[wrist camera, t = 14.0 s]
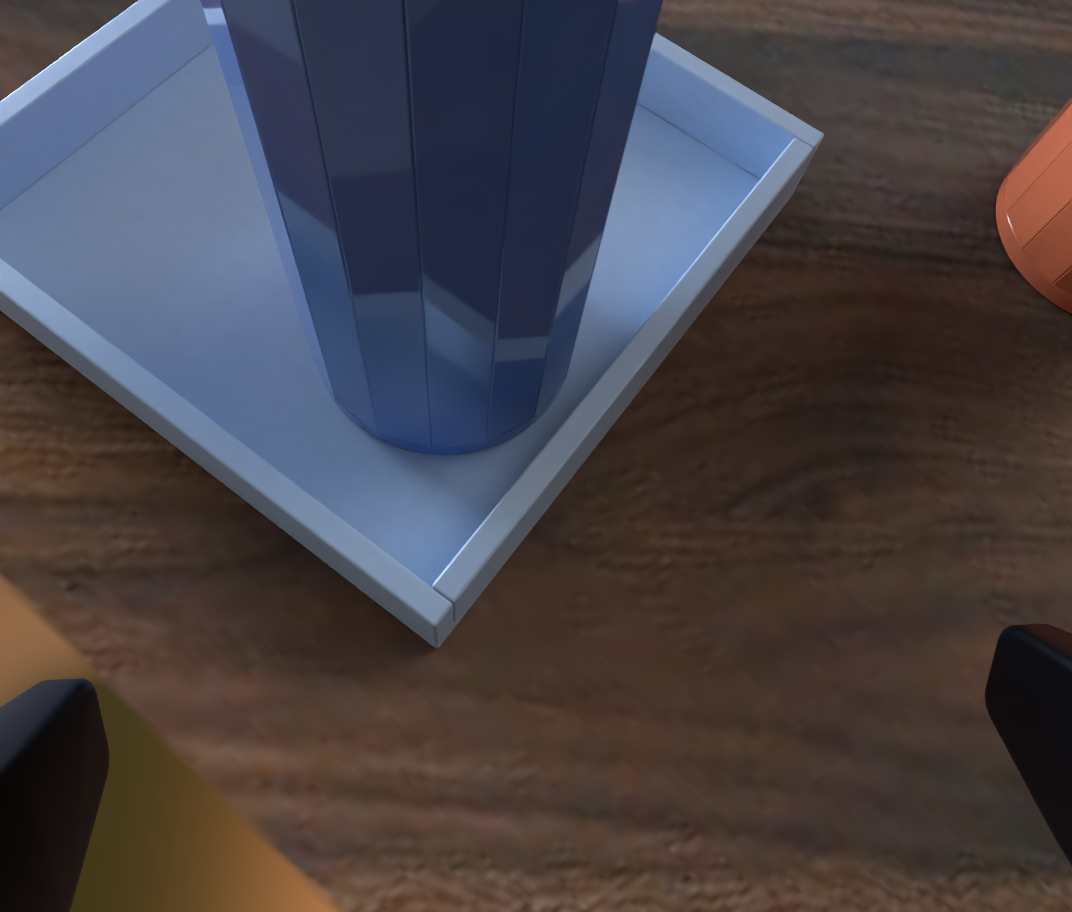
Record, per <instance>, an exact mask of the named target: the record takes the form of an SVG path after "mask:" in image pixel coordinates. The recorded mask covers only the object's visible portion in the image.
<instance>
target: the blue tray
mask: <svg viewBox="0 0 1072 912" xmlns="http://www.w3.org/2000/svg"><path fill="white" fill-rule="evenodd" d="M823 137H824V134H823V133H821V132H820V131H818V130H816V129H815V128H813V127H811V126H810V125H808V124H806V123H805V122H803V121H801V120H800V119H798V118H796V117H795V116H793V115H791V114H790V113H788V112H787V111H785V110H783V109H782V108H780V107H778V106H777V105H775V104H773V103H772V102H770V101H768V100H767V99H765V98H763V97H762V96H760V95H758V94H757V93H755V92H753V91H752V90H750V89H748V88H747V87H745V86H743V85H742V84H740V83H738V82H737V81H735V80H734V79H732V78H730V77H729V76H727V75H725V74H724V73H722V72H720V71H719V70H717V69H715V68H714V67H712V66H710V65H709V64H707V63H705V62H704V61H702V60H700V59H699V58H697V57H695V56H694V55H692V54H690V53H689V52H687V51H685V50H684V49H682V48H680V47H679V46H677V45H676V44H674V43H672V42H671V41H669V40H667V39H666V38H664V37H662V36H661V35H659V34H657V33H656V34H655V38H654V42H653V46H652V49H651V53H650V57H649V61H648V65H647V69H646V73H645V77H644V80H643V84H642V88H641V92H640V96H639V100H638V104H637V108H636V111H635V115H634V119H633V123H632V127H631V131H630V135H629V139H628V142H627V146H626V150H625V154H624V158H623V162H622V166H621V170H620V174H619V177H618V181H617V185H616V189H615V193H614V197H613V201H612V205H611V208H610V212H609V216H608V220H607V224H606V228H605V232H604V236H603V239H602V243H601V247H600V251H599V255H598V259H597V263H596V267H595V271H594V274H593V278H592V282H591V286H590V290H589V294H588V298H587V302H586V305H585V309H584V313H583V317H582V321H581V325H580V329H579V333H578V336H577V340H576V344H575V348H574V351H573V355H572V359H571V363H570V366H569V370H568V373H567V377H566V379H565V381H564V384H563V386H562V388H561V390H560V392H559V394H558V395H557V397H556V399H555V400H554V401H553V403H552V404H551V406H550V407H549V408H548V410H547V411H546V412H545V413H544V414H543V415H542V416H541V417H540V418H539V419H538V420H537V421H536V422H535V423H533V424H532V425H531V426H530V427H528V428H527V429H526V430H525V431H523V432H522V433H520V434H518V435H517V436H515V437H513V438H511V439H510V440H508V441H505V442H503V443H501V444H499V445H496V446H494V447H491V448H487V449H484V450H480V451H477V452H471V453H465V454H458V455H433V454H422V453H418V452H413V451H408V450H404V449H401V448H398V447H395V446H392V445H389V444H387V443H385V442H383V441H381V440H379V439H377V438H375V437H373V436H372V435H370V434H368V433H367V432H365V431H364V430H362V429H361V428H359V427H358V426H357V425H356V424H355V423H354V422H352V421H351V420H350V419H349V418H348V417H347V416H346V415H345V414H344V413H343V412H342V411H341V410H340V408H339V407H338V406H337V405H336V404H335V402H334V401H333V399H332V398H331V396H330V395H329V393H328V391H327V389H326V387H325V385H324V383H323V381H322V379H321V376H320V373H319V370H318V368H317V367H316V365H315V363H314V361H313V359H312V356H311V353H310V349H309V346H308V343H307V340H306V337H305V333H304V330H303V327H302V324H301V321H300V317H299V314H298V311H297V308H296V305H295V301H294V298H293V295H292V292H291V289H290V285H289V282H288V279H287V276H286V273H285V269H284V266H283V263H282V260H281V257H280V253H279V250H278V247H277V244H276V241H275V237H274V234H273V231H272V228H271V225H270V222H269V218H268V215H267V212H266V209H265V206H264V202H263V199H262V196H261V193H260V190H259V186H258V183H257V180H256V177H255V174H254V170H253V167H252V164H251V161H250V158H249V154H248V151H247V148H246V145H245V142H244V138H243V135H242V132H241V129H240V126H239V122H238V119H237V116H236V113H235V110H234V106H233V103H232V100H231V97H230V94H229V90H228V87H227V84H226V81H225V78H224V74H223V71H222V68H221V65H220V62H219V58H218V55H217V52H216V49H215V46H214V42H213V39H212V36H211V33H210V30H209V26H208V23H207V20H206V17H205V14H204V10H203V7H202V4H201V1H200V0H139V1H137V2H136V3H135V4H133V5H132V6H131V7H129V8H128V9H126V10H125V11H124V12H122V13H121V14H120V15H118V16H117V17H116V18H114V19H113V20H111V21H110V22H109V23H107V24H106V25H105V26H103V27H102V28H101V29H99V30H98V31H96V32H95V33H94V34H92V35H91V36H90V37H88V38H87V39H85V40H84V41H83V42H81V43H80V44H79V45H77V46H76V47H75V48H73V49H72V50H70V51H69V52H68V53H66V54H65V55H64V56H62V57H61V58H59V59H58V60H57V61H55V62H54V63H53V64H51V65H50V66H49V67H47V68H46V69H44V70H43V71H42V72H40V73H39V74H38V75H36V76H35V77H33V78H32V79H31V80H29V81H28V82H27V83H25V84H24V85H23V86H21V87H20V88H18V89H17V90H16V91H14V92H13V93H12V94H10V95H9V96H8V97H6V98H5V99H3V100H2V101H1V102H0V311H1V312H3V313H4V314H5V315H6V316H8V317H9V318H10V319H12V320H13V321H14V322H15V323H17V324H18V325H19V326H21V327H22V328H23V329H25V330H26V331H27V332H28V333H30V334H31V335H32V336H34V337H35V338H36V339H37V340H39V341H40V342H41V343H43V344H44V345H45V346H46V347H48V348H49V349H50V350H52V351H53V352H54V353H55V354H57V355H58V356H59V357H61V358H62V359H63V360H64V361H66V362H67V363H68V364H70V365H71V366H72V367H73V368H75V369H76V370H77V371H79V372H80V373H81V374H83V375H84V376H85V377H86V378H88V379H89V380H90V381H92V382H93V383H94V384H95V385H97V386H98V387H99V388H101V389H102V390H103V391H104V392H106V393H107V394H108V395H110V396H111V397H112V398H113V399H115V400H116V401H117V402H119V403H120V404H121V405H122V406H124V407H125V408H126V409H128V410H129V411H130V412H131V413H133V414H134V415H135V416H137V417H138V418H139V419H141V420H142V421H143V422H144V423H146V424H147V425H148V426H150V427H151V428H152V429H153V430H155V431H156V432H157V433H159V434H160V435H161V436H162V437H164V438H165V439H166V440H168V441H169V442H170V443H171V444H173V445H174V446H175V447H177V448H178V449H179V450H180V451H182V452H183V453H184V454H186V455H187V456H188V457H189V458H191V459H192V460H193V461H195V462H196V463H197V464H199V465H200V466H201V467H202V468H204V469H205V470H206V471H208V472H209V473H210V474H211V475H213V476H214V477H215V478H217V479H218V480H219V481H220V482H222V483H223V484H224V485H226V486H227V487H228V488H229V489H231V490H232V491H233V492H235V493H236V494H237V495H238V496H240V497H241V498H242V499H244V500H245V501H246V502H247V503H249V504H250V505H251V506H253V507H254V508H255V509H257V510H258V511H259V512H260V513H262V514H263V515H264V516H266V517H267V518H268V519H269V520H271V521H272V522H273V523H275V524H276V525H277V526H278V527H280V528H281V529H282V530H284V531H285V532H286V533H287V534H289V535H290V536H291V537H293V538H294V539H295V540H296V541H298V542H299V543H300V544H302V545H303V546H304V547H305V548H307V549H308V550H309V551H311V552H312V553H313V554H315V555H316V556H317V557H318V558H320V559H321V560H322V561H324V562H325V563H326V564H327V565H329V566H330V567H331V568H333V569H334V570H335V571H336V572H338V573H339V574H340V575H342V576H343V577H344V578H345V579H347V580H348V581H349V582H351V583H352V584H353V585H354V586H356V587H357V588H358V589H360V590H361V591H362V592H364V593H365V594H366V595H367V596H369V597H370V598H371V599H373V600H374V601H375V602H376V603H378V604H379V605H380V606H382V607H383V608H384V609H385V610H387V611H388V612H389V613H391V614H392V615H393V616H394V617H396V618H397V619H398V620H400V621H401V622H402V623H403V624H405V625H406V626H407V627H409V628H410V629H411V630H412V631H414V632H415V633H416V634H418V635H419V636H420V637H422V638H423V639H424V640H425V641H427V642H428V643H429V644H431V645H432V646H433V647H434V648H436V649H438V648H439V647H440V646H441V645H442V643H443V642H444V641H445V640H446V638H447V637H448V636H449V634H450V633H451V632H452V631H453V629H454V628H455V627H456V626H457V624H458V623H459V622H460V620H461V619H462V618H463V617H464V615H465V614H466V613H467V611H468V610H469V609H470V608H471V606H472V605H473V604H474V602H475V601H476V600H477V599H478V597H479V596H480V595H481V594H482V592H483V591H484V590H485V588H486V587H487V586H488V585H489V583H490V582H491V581H492V579H493V578H494V577H495V576H496V574H497V573H498V572H499V570H500V569H501V568H502V567H503V565H504V564H505V563H506V562H507V560H508V559H509V558H510V556H511V555H512V554H513V553H514V551H515V550H516V549H517V547H518V546H519V545H520V544H521V542H522V541H523V540H524V538H525V537H526V536H527V535H528V533H529V532H530V531H531V530H532V528H533V527H534V526H535V524H536V523H537V522H538V521H539V519H540V518H541V517H542V515H543V514H544V513H545V512H546V510H547V509H548V508H549V506H550V505H551V504H552V503H553V501H554V500H555V499H556V498H557V496H558V495H559V494H560V492H561V491H562V490H563V489H564V487H565V486H566V485H567V483H568V482H569V481H570V480H571V478H572V477H573V476H574V474H575V473H576V472H577V471H578V469H579V468H580V467H581V466H582V464H583V463H584V462H585V460H586V459H587V458H588V457H589V455H590V454H591V453H592V451H593V450H594V449H595V448H596V446H597V445H598V444H599V442H600V441H601V440H602V439H603V437H604V436H605V435H606V434H607V432H608V431H609V430H610V428H611V427H612V426H613V425H614V423H615V422H616V421H617V419H618V418H619V417H620V416H621V414H622V413H623V412H624V410H625V409H626V408H627V407H628V405H629V404H630V403H631V402H632V400H633V399H634V398H635V396H636V395H637V394H638V393H639V391H640V390H641V389H642V387H643V386H644V385H645V384H646V382H647V381H648V380H649V378H650V377H651V376H652V375H653V373H654V372H655V371H656V370H657V368H658V367H659V366H660V364H661V363H662V362H663V361H664V359H665V358H666V357H667V355H668V354H669V353H670V352H671V350H672V349H673V348H674V346H675V345H676V344H677V343H678V341H679V340H680V339H681V338H682V336H683V335H684V334H685V332H686V331H687V330H688V329H689V327H690V326H691V325H692V323H693V322H694V321H695V320H696V318H697V317H698V316H699V314H700V313H701V312H702V311H703V309H704V308H705V307H706V306H707V304H708V303H709V302H710V300H711V299H712V298H713V297H714V295H715V294H716V293H717V291H718V290H719V289H720V288H721V286H722V285H723V284H724V282H725V281H726V280H727V279H728V277H729V276H730V275H731V274H732V272H733V271H734V270H735V268H736V267H737V266H738V265H739V263H740V262H741V261H742V259H743V258H744V257H745V256H746V254H747V253H748V252H749V250H750V249H751V248H752V247H753V245H754V244H755V243H756V242H757V240H758V239H759V238H760V236H761V235H762V234H763V233H764V231H765V230H766V229H767V227H768V226H769V225H770V224H771V222H772V221H773V220H774V218H775V217H776V216H777V215H778V213H779V212H780V211H781V210H782V208H783V207H784V206H785V204H786V203H787V202H788V201H789V199H790V198H791V196H792V194H793V193H794V191H795V189H796V187H797V185H798V183H799V181H800V180H801V178H802V176H803V174H804V172H805V170H806V169H807V167H808V165H809V163H810V161H811V159H812V158H813V156H814V154H815V152H816V150H817V148H818V147H819V145H820V143H821V141H822V139H823Z"/></svg>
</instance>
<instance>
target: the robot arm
mask: <svg viewBox="0 0 1072 912" xmlns="http://www.w3.org/2000/svg"><path fill="white" fill-rule="evenodd" d="M985 701H986V707H987V710H988V713H989V716H990V718H991V720H992V722H993V724H994V725H995V727H996V729H997V731H998V733H999V735H1000V737H1001V739H1002V740H1003V742H1004V744H1005V746H1006V748H1007V750H1008V752H1009V754H1010V755H1011V757H1012V759H1013V761H1014V763H1015V765H1016V767H1017V769H1018V770H1019V772H1020V774H1021V776H1022V778H1023V780H1024V782H1025V784H1026V785H1027V787H1028V789H1029V791H1030V793H1031V795H1032V797H1033V799H1034V801H1035V802H1036V804H1037V806H1038V808H1039V810H1040V812H1041V814H1042V816H1043V817H1044V819H1045V821H1046V823H1047V825H1048V827H1049V828H1050V830H1051V832H1052V834H1053V836H1054V837H1055V839H1056V841H1057V843H1058V844H1059V846H1060V848H1061V849H1062V851H1063V853H1064V854H1065V856H1066V857H1067V859H1068V861H1069V862H1070V864H1071V865H1072V634H1071V633H1069V632H1066V631H1064V630H1061V629H1059V628H1056V627H1054V626H1051V625H1048V624H1027V625H1012V626H1009V627H1007V628H1005V629H1004V630H1003V631H1002V633H1001V634H1000V636H999V638H998V642H997V646H996V650H995V654H994V657H993V661H992V665H991V669H990V673H989V677H988V681H987V685H986V690H985ZM108 768H109V748H108V743H107V738H106V734H105V730H104V725H103V720H102V716H101V712H100V707H99V703H98V698H97V694H96V691H95V688H94V686H93V685H92V683H91V682H89V681H88V680H86V679H82V678H80V679H62V680H47V681H42V682H40V683H38V684H36V685H34V686H33V687H31V688H30V689H28V690H27V691H25V692H23V693H22V694H20V695H19V696H17V697H16V698H14V699H13V700H11V701H10V702H8V703H6V704H5V705H3V706H2V707H0V912H70V911H71V907H72V904H73V900H74V896H75V893H76V889H77V885H78V881H79V878H80V874H81V870H82V867H83V863H84V859H85V856H86V852H87V848H88V845H89V841H90V837H91V834H92V830H93V826H94V823H95V819H96V815H97V812H98V808H99V804H100V801H101V797H102V793H103V789H104V786H105V782H106V778H107V774H108Z"/></svg>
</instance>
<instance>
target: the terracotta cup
mask: <svg viewBox="0 0 1072 912" xmlns="http://www.w3.org/2000/svg"><path fill="white" fill-rule="evenodd" d="M996 222H997V228H998V232H999V235H1000V238H1001V241H1002V244H1003V246H1004V248H1005V250H1006V252H1007V254H1008V256H1009V258H1010V259H1011V261H1012V263H1013V264H1014V266H1015V267H1016V268H1017V270H1018V271H1019V272H1020V273H1021V275H1022V276H1023V277H1024V278H1025V279H1026V280H1027V281H1028V283H1029V284H1030V285H1031V286H1032V287H1033V288H1034V289H1035V290H1037V291H1038V292H1039V293H1040V294H1042V295H1043V296H1044V297H1045V298H1046V299H1048V300H1049V301H1051V302H1052V303H1054V304H1055V305H1057V306H1058V307H1059V308H1061V309H1063V310H1065V311H1067V312H1069V313H1070V314H1072V97H1071V98H1070V100H1069V101H1068V102H1067V103H1066V104H1065V105H1064V107H1063V108H1062V109H1061V110H1060V111H1059V112H1058V114H1057V115H1056V116H1055V117H1054V118H1053V119H1052V121H1051V122H1050V123H1049V124H1048V125H1047V126H1046V127H1045V129H1044V130H1043V131H1042V132H1041V133H1040V134H1039V136H1038V137H1037V138H1036V139H1035V140H1034V141H1033V143H1032V144H1031V145H1030V146H1029V147H1028V148H1027V150H1026V151H1025V152H1024V153H1023V155H1022V157H1021V158H1020V160H1019V161H1018V162H1017V163H1016V165H1015V166H1014V167H1013V168H1012V169H1011V170H1010V172H1009V173H1008V174H1007V176H1006V177H1005V179H1004V181H1003V182H1002V184H1001V186H1000V189H999V193H998V196H997V202H996Z"/></svg>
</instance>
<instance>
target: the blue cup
mask: <svg viewBox="0 0 1072 912" xmlns="http://www.w3.org/2000/svg"><path fill="white" fill-rule="evenodd" d="M200 1H201V4H202V7H203V10H204V14H205V17H206V20H207V23H208V26H209V30H210V33H211V36H212V39H213V42H214V46H215V49H216V52H217V55H218V58H219V62H220V65H221V68H222V71H223V74H224V78H225V81H226V84H227V87H228V90H229V94H230V97H231V100H232V103H233V106H234V110H235V113H236V116H237V119H238V122H239V126H240V129H241V132H242V135H243V138H244V142H245V145H246V148H247V151H248V154H249V158H250V161H251V164H252V167H253V170H254V174H255V177H256V180H257V183H258V186H259V190H260V193H261V196H262V199H263V202H264V206H265V209H266V212H267V215H268V218H269V222H270V225H271V228H272V231H273V234H274V237H275V241H276V244H277V247H278V250H279V253H280V257H281V260H282V263H283V266H284V269H285V273H286V276H287V279H288V282H289V285H290V289H291V292H292V295H293V298H294V301H295V305H296V308H297V311H298V314H299V317H300V321H301V324H302V327H303V330H304V333H305V337H306V340H307V343H308V346H309V349H310V353H311V356H312V359H313V361H314V363H315V365H316V367H317V368H318V370H319V373H320V376H321V379H322V381H323V383H324V385H325V387H326V389H327V391H328V393H329V395H330V396H331V398H332V399H333V401H334V402H335V404H336V405H337V406H338V407H339V408H340V410H341V411H342V412H343V413H344V414H345V415H346V416H347V417H348V418H349V419H350V420H351V421H352V422H354V423H355V424H356V425H357V426H358V427H359V428H361V429H362V430H364V431H365V432H367V433H368V434H370V435H372V436H373V437H375V438H377V439H379V440H381V441H383V442H385V443H387V444H389V445H392V446H395V447H398V448H401V449H404V450H408V451H413V452H418V453H422V454H433V455H458V454H465V453H471V452H477V451H480V450H484V449H487V448H491V447H494V446H496V445H499V444H501V443H503V442H505V441H508V440H510V439H511V438H513V437H515V436H517V435H518V434H520V433H522V432H523V431H525V430H526V429H527V428H528V427H530V426H531V425H532V424H533V423H535V422H536V421H537V420H538V419H539V418H540V417H541V416H542V415H543V414H544V413H545V412H546V411H547V410H548V408H549V407H550V406H551V404H552V403H553V401H554V400H555V399H556V397H557V395H558V394H559V392H560V390H561V388H562V386H563V384H564V381H565V379H566V377H567V373H568V370H569V366H570V363H571V359H572V355H573V351H574V348H575V344H576V340H577V336H578V333H579V329H580V325H581V321H582V317H583V313H584V309H585V305H586V302H587V298H588V294H589V290H590V286H591V282H592V278H593V274H594V271H595V267H596V263H597V259H598V255H599V251H600V247H601V243H602V239H603V236H604V232H605V228H606V224H607V220H608V216H609V212H610V208H611V205H612V201H613V197H614V193H615V189H616V185H617V181H618V177H619V174H620V170H621V166H622V162H623V158H624V154H625V150H626V146H627V142H628V139H629V135H630V131H631V127H632V123H633V119H634V115H635V111H636V108H637V104H638V100H639V96H640V92H641V88H642V84H643V80H644V77H645V73H646V69H647V65H648V61H649V57H650V53H651V49H652V46H653V42H654V38H655V34H656V30H657V26H658V22H659V18H660V14H661V11H662V7H663V3H664V0H200Z"/></svg>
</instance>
